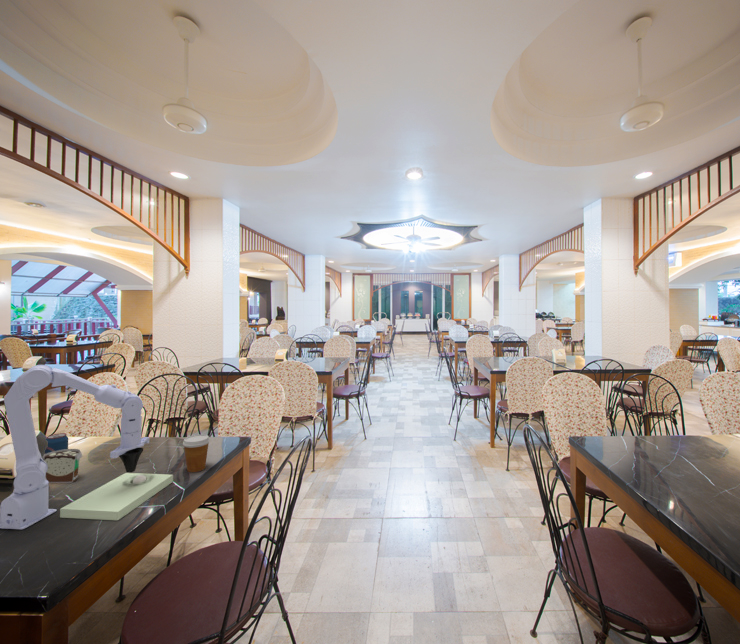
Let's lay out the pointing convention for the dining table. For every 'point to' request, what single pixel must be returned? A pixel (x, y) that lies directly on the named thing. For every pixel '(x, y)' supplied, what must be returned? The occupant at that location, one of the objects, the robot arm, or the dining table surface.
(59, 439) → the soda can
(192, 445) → the disposable coffee cup
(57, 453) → the food container
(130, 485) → the putting deck
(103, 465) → the dining table surface
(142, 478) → the ball
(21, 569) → the dining table surface
